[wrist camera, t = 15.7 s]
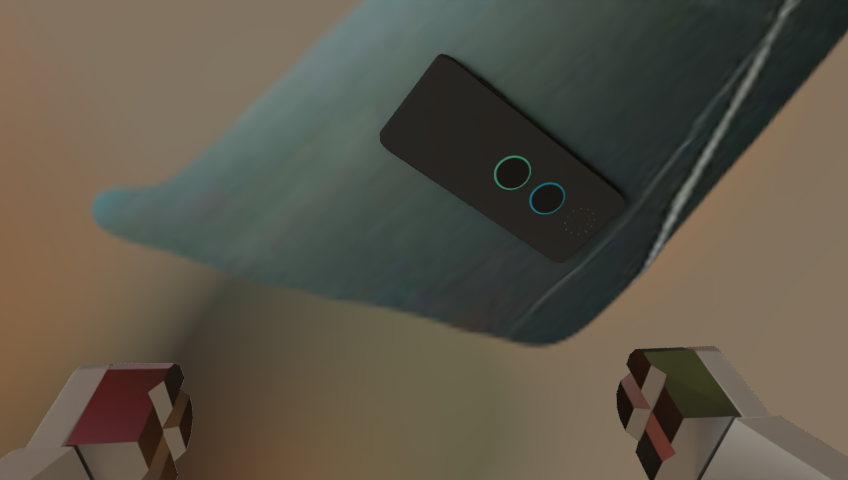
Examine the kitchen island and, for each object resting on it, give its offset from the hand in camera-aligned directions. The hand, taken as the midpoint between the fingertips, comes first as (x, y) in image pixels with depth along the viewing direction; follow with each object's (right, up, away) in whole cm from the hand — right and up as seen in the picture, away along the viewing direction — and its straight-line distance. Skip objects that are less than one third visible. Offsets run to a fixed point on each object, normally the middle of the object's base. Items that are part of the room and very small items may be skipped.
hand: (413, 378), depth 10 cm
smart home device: (+7, +9, +33) cm, 35 cm away
